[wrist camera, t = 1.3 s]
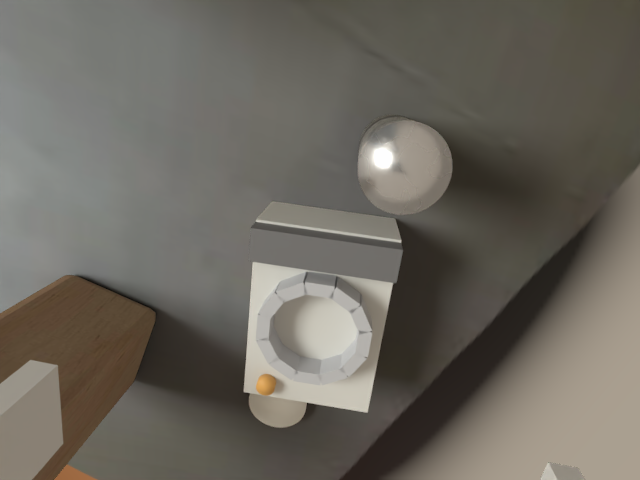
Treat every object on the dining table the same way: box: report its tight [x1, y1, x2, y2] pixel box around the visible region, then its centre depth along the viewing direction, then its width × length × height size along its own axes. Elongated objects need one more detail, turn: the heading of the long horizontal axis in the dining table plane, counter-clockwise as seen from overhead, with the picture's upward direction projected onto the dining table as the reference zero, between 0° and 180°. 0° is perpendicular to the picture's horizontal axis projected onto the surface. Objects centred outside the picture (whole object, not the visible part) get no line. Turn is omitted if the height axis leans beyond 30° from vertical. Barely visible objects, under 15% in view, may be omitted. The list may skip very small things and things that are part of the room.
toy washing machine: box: [244, 201, 403, 413], centre depth 35 cm, size 16×11×8 cm
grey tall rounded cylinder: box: [358, 115, 453, 215], centre depth 28 cm, size 5×5×12 cm
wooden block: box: [0, 275, 156, 480], centre depth 33 cm, size 10×10×20 cm
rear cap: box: [249, 393, 307, 428], centre depth 43 cm, size 6×6×2 cm
